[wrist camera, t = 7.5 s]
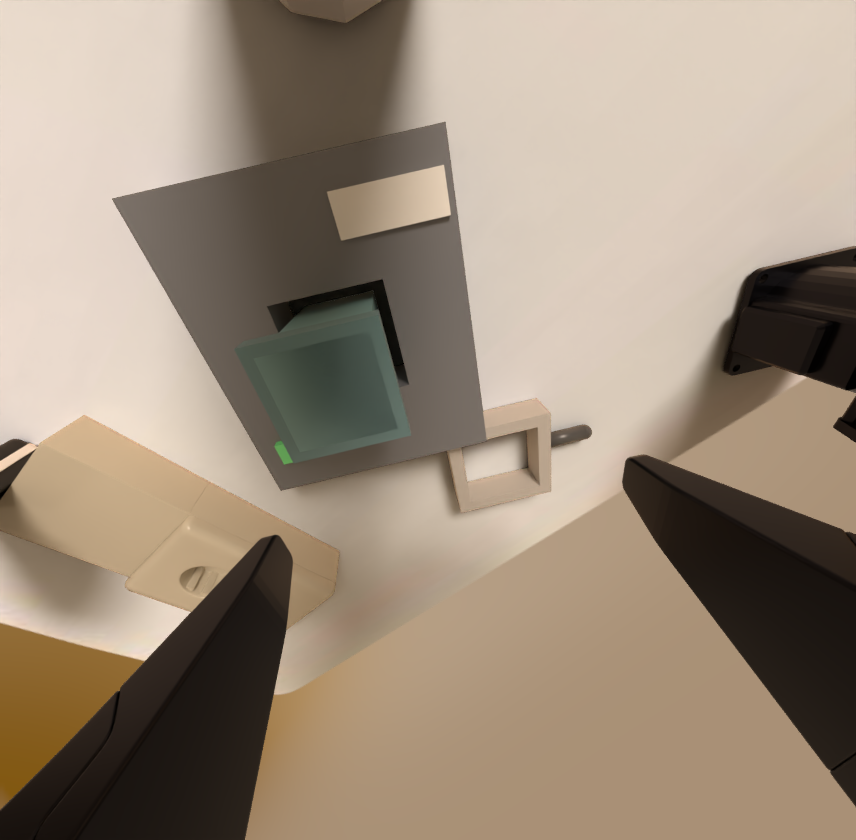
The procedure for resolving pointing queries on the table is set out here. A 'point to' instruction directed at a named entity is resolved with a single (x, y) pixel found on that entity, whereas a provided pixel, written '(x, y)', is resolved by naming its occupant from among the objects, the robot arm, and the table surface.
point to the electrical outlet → (150, 520)
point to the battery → (13, 461)
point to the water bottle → (330, 8)
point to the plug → (328, 379)
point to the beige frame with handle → (538, 447)
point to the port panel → (325, 278)
